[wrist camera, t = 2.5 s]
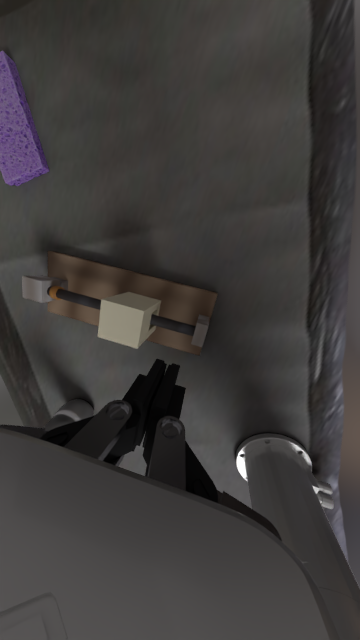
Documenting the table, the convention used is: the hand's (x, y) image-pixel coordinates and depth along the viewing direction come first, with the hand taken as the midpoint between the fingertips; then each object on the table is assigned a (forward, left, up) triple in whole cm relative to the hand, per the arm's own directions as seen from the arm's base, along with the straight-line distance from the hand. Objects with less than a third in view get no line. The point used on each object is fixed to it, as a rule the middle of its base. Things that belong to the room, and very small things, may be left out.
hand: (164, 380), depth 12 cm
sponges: (+31, -20, -18) cm, 41 cm away
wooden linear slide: (+11, 0, -17) cm, 20 cm away
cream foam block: (+7, 0, -14) cm, 16 cm away
